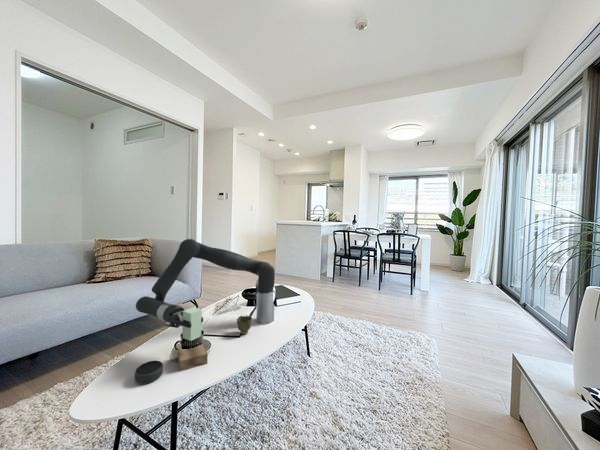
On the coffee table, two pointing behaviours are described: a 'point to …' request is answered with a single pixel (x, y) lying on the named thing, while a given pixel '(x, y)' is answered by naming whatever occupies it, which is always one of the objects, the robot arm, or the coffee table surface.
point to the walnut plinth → (192, 357)
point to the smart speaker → (148, 372)
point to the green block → (192, 323)
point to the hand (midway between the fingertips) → (196, 322)
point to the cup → (244, 324)
